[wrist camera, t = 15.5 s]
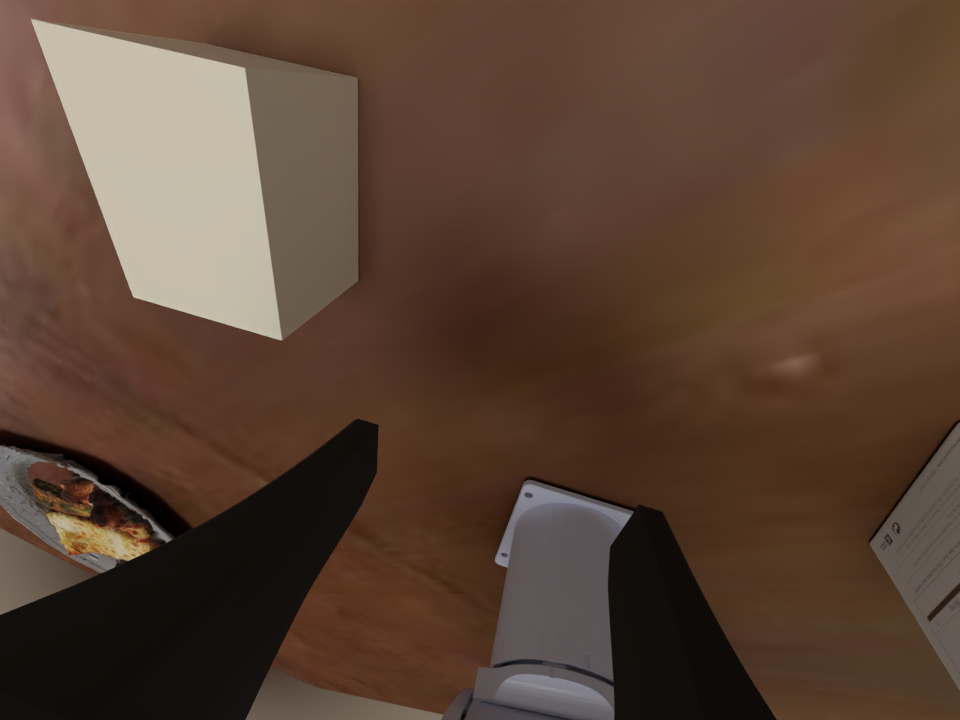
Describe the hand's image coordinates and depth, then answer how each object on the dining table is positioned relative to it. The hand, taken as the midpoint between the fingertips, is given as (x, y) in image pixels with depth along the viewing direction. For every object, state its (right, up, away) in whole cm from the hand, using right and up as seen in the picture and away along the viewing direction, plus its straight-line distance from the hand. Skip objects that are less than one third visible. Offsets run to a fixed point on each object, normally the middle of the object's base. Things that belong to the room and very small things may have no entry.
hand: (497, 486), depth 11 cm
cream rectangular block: (-9, +11, +6) cm, 16 cm away
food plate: (-40, -13, +32) cm, 53 cm away
